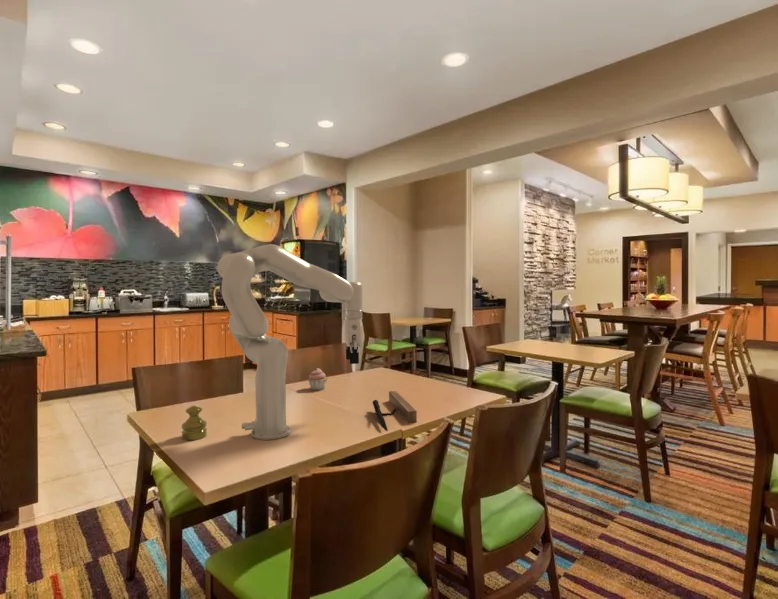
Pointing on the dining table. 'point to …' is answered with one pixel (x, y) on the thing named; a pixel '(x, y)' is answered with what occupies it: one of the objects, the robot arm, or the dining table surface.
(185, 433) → the olive green tapered piece
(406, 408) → the rail
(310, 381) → the cupcake
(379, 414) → the dark humanoid figurine
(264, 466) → the dining table surface
